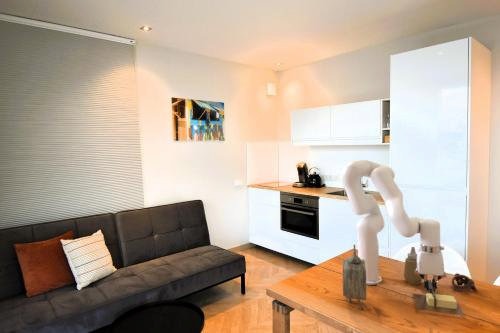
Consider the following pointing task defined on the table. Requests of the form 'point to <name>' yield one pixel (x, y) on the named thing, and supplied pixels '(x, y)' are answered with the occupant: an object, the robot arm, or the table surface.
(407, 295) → the table surface
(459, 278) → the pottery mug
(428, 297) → the butter slice
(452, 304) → the butter
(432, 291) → the knife
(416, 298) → the cutting board
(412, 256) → the squeeze bottle
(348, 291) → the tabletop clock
